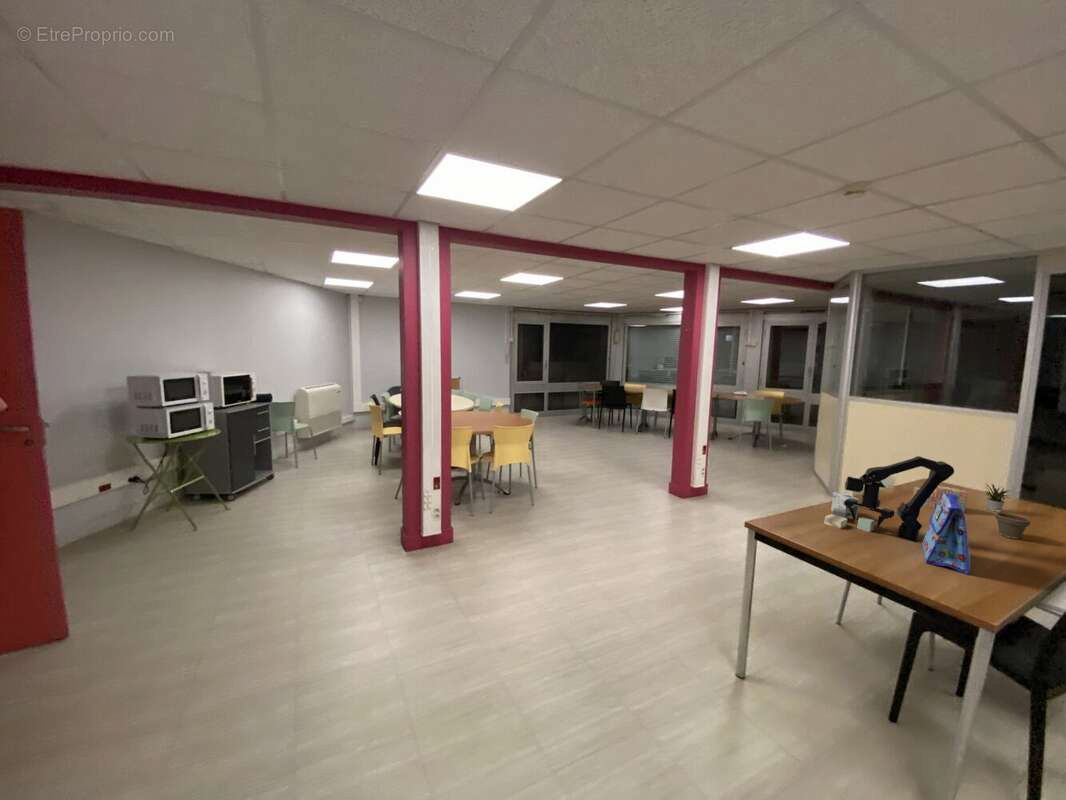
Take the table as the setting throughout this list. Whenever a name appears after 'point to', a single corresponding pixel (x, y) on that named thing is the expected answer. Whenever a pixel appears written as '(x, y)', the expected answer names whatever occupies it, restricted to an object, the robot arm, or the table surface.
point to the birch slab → (835, 521)
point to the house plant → (996, 498)
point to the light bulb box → (842, 503)
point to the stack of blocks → (937, 495)
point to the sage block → (865, 524)
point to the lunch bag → (947, 536)
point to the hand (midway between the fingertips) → (865, 524)
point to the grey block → (839, 512)
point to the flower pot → (1011, 524)
